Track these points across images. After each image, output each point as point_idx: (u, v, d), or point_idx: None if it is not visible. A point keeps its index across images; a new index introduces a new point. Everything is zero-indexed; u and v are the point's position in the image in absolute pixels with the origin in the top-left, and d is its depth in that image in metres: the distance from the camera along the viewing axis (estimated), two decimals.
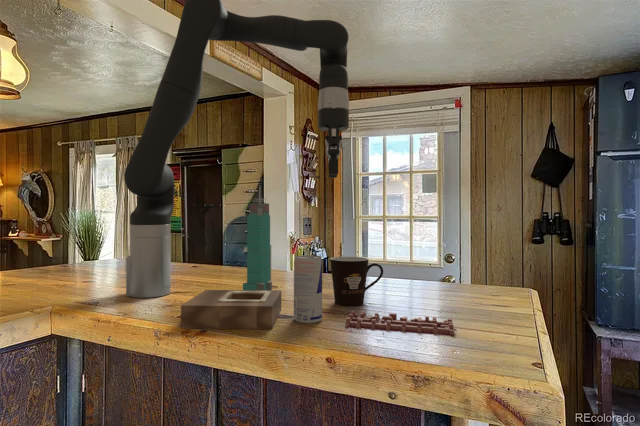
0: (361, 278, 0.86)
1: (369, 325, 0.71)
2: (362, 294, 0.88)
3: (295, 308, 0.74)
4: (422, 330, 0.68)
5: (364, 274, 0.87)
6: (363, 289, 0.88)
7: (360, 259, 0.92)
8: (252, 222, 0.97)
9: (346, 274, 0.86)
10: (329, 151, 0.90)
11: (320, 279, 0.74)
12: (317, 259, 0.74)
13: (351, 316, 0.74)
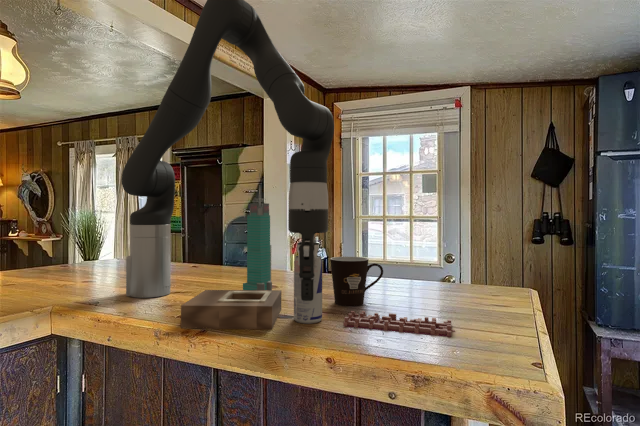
0: (361, 278, 0.86)
1: (367, 325, 0.71)
2: (362, 294, 0.88)
3: (295, 308, 0.74)
4: (419, 331, 0.68)
5: (364, 274, 0.87)
6: (363, 289, 0.88)
7: (360, 259, 0.92)
8: (252, 222, 0.97)
9: (346, 274, 0.86)
10: (301, 275, 0.70)
11: (320, 279, 0.74)
12: (317, 259, 0.74)
13: (350, 316, 0.74)
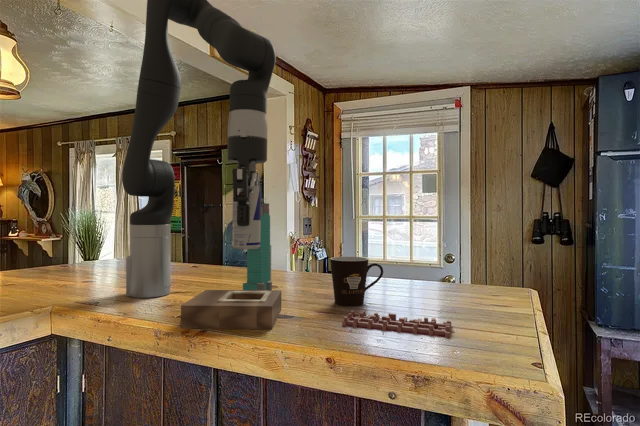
0: (361, 278, 0.86)
1: (366, 325, 0.71)
2: (362, 294, 0.88)
3: (233, 235, 0.76)
4: (418, 331, 0.68)
5: (364, 274, 0.87)
6: (363, 289, 0.88)
7: (360, 259, 0.92)
8: None
9: (346, 274, 0.86)
10: (234, 198, 0.71)
11: (257, 207, 0.76)
12: (254, 187, 0.75)
13: (350, 315, 0.75)
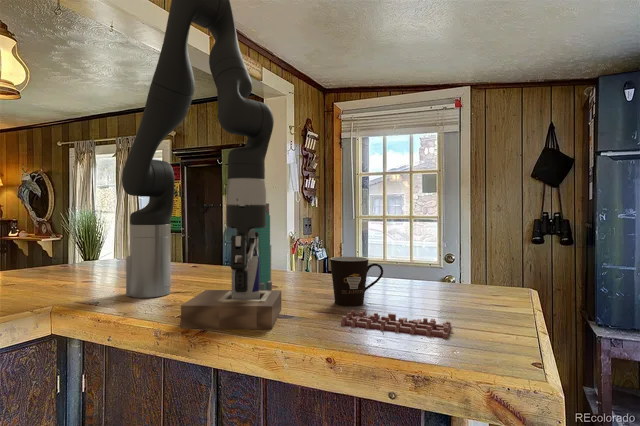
0: (361, 278, 0.86)
1: (364, 324, 0.71)
2: (362, 294, 0.88)
3: None
4: (416, 332, 0.67)
5: (364, 274, 0.87)
6: (363, 289, 0.88)
7: (360, 259, 0.92)
8: None
9: (346, 274, 0.86)
10: (232, 266, 0.70)
11: (256, 278, 0.75)
12: (253, 258, 0.75)
13: (349, 315, 0.75)
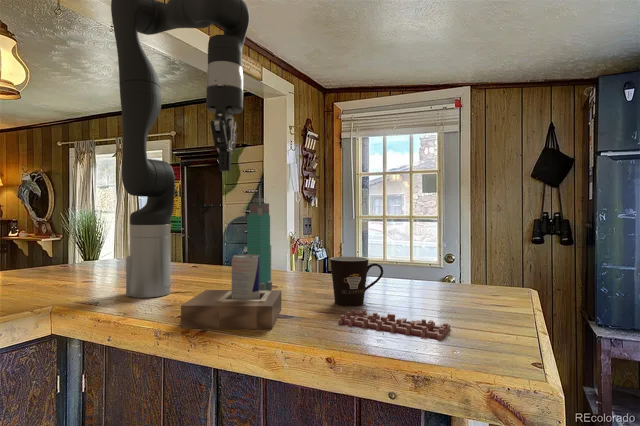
0: (361, 278, 0.86)
1: (361, 324, 0.71)
2: (362, 294, 0.88)
3: None
4: (411, 332, 0.67)
5: (364, 274, 0.87)
6: (363, 289, 0.88)
7: (360, 259, 0.92)
8: (252, 222, 0.97)
9: (346, 274, 0.86)
10: (216, 144, 0.81)
11: (256, 278, 0.75)
12: (253, 258, 0.75)
13: (348, 314, 0.75)
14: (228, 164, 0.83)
